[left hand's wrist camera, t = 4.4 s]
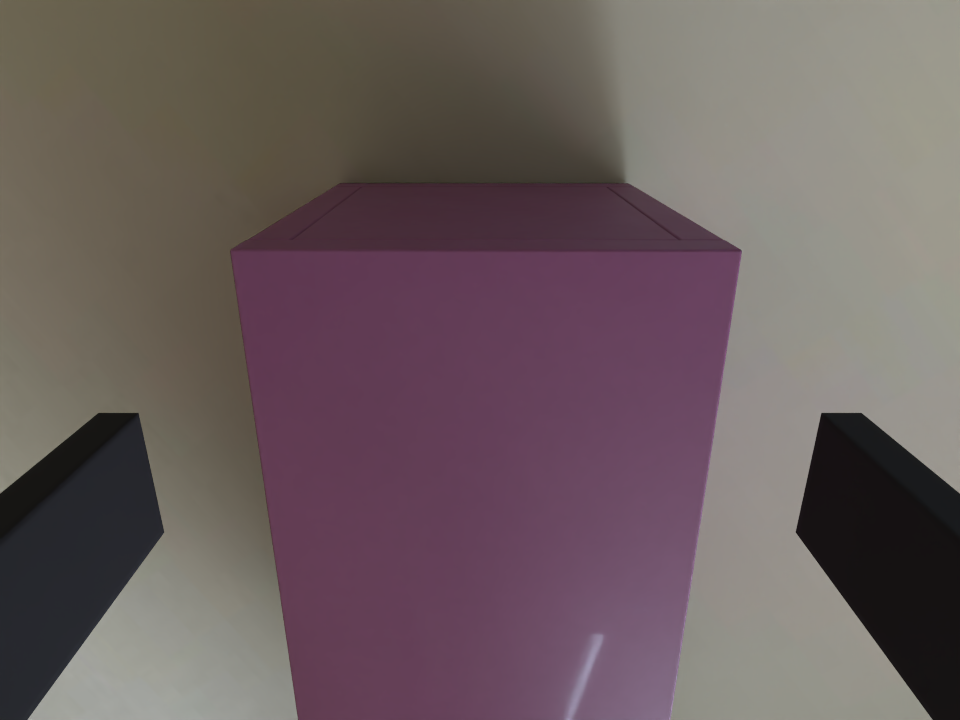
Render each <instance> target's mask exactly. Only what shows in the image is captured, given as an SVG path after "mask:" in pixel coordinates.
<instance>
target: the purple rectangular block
mask: <svg viewBox="0 0 960 720" xmlns="http://www.w3.org/2000/svg"><path fill="white" fill-rule="evenodd" d="M230 253H231V260H232V267H233V274H234V281H235V288H236V294H237V301H238V308H239V315H240V322H241V329H242V336H243V343H244V350H245V356H246V363H247V370H248V377H249V384H250V391H251V398H252V405H253V412H254V419H255V425H256V432H257V439H258V446H259V453H260V460H261V467H262V474H263V481H264V487H265V494H266V501H267V508H268V515H269V522H270V529H271V536H272V543H273V549H274V556H275V563H276V570H277V577H278V584H279V591H280V598H281V605H282V612H283V618H284V625H285V632H286V639H287V646H288V653H289V660H290V667H291V674H292V680H293V687H294V694H295V701H296V708H297V715H298V720H670V719H671V712H672V705H673V699H674V692H675V686H676V679H677V673H678V666H679V660H680V653H681V646H682V640H683V633H684V627H685V620H686V614H687V607H688V601H689V594H690V587H691V581H692V574H693V568H694V561H695V555H696V548H697V541H698V535H699V528H700V522H701V515H702V509H703V502H704V496H705V489H706V482H707V476H708V469H709V463H710V456H711V450H712V443H713V437H714V430H715V423H716V417H717V410H718V404H719V397H720V391H721V384H722V378H723V371H724V364H725V358H726V351H727V345H728V338H729V332H730V325H731V319H732V312H733V305H734V299H735V292H736V286H737V279H738V273H739V266H740V259H741V253H742V251H741V250H740V249H739V248H737V247H735V246H734V245H732V244H730V243H729V242H727V241H725V240H723V239H721V238H719V237H718V236H716V235H714V234H713V233H711V232H709V231H708V230H706V229H704V228H703V227H701V226H699V225H698V224H696V223H694V222H693V221H691V220H689V219H688V218H686V217H684V216H682V215H681V214H679V213H677V212H676V211H674V210H672V209H671V208H669V207H667V206H666V205H664V204H662V203H661V202H659V201H657V200H656V199H654V198H652V197H651V196H649V195H647V194H646V193H644V192H642V191H641V190H639V189H637V188H635V187H634V186H632V185H630V184H628V183H340V184H338V185H336V186H335V187H333V188H331V189H330V190H328V191H326V192H325V193H323V194H322V195H320V196H318V197H317V198H315V199H313V200H312V201H310V202H309V203H307V204H305V205H304V206H302V207H300V208H299V209H297V210H296V211H294V212H292V213H291V214H289V215H287V216H286V217H284V218H283V219H281V220H279V221H278V222H276V223H274V224H273V225H271V226H269V227H268V228H266V229H265V230H263V231H261V232H260V233H258V234H256V235H255V236H253V237H252V238H250V239H248V240H246V241H244V242H242V243H241V244H239V245H237V246H236V247H234V248H232V249H231V251H230Z"/></svg>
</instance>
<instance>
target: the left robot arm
mask: <svg viewBox="0 0 960 720" xmlns="http://www.w3.org/2000/svg"><path fill="white" fill-rule="evenodd" d="M163 533H164V529H163V525H162V520H161V515H160V511H159V506H158V501H157V497H156V492H155V488H154V483H153V478H152V474H151V469H150V464H149V460H148V455H147V450H146V446H145V441H144V437H143V432H142V427H141V423H140V418H139V413H98V414H97V415H96V416H94V417H93V418H92V419H91V420H90V421H88V422H87V423H86V424H85V425H83V426H82V427H81V428H80V429H79V430H77V431H76V432H75V433H74V434H72V435H71V436H70V437H69V438H68V439H66V440H65V441H64V442H63V443H61V444H60V445H59V446H58V447H57V448H55V449H54V450H53V451H52V452H51V453H49V454H48V455H47V456H46V457H44V458H43V459H42V460H41V461H40V462H38V463H37V464H36V465H35V466H33V467H32V468H31V469H30V470H29V471H27V472H26V473H25V474H24V475H22V476H21V477H20V478H19V479H18V480H16V481H15V482H14V483H13V484H12V485H10V486H9V487H8V488H7V489H5V490H4V491H3V492H2V493H1V494H0V720H27V719H28V718H29V717H30V715H31V714H32V713H33V711H34V710H35V708H36V707H37V706H38V704H39V703H40V702H41V700H42V699H43V697H44V696H45V695H46V693H47V692H48V691H49V689H50V688H51V687H52V685H53V684H54V682H55V681H56V680H57V678H58V677H59V676H60V674H61V673H62V671H63V670H64V669H65V667H66V666H67V665H68V663H69V662H70V661H71V659H72V658H73V656H74V655H75V654H76V652H77V651H78V650H79V648H80V647H81V645H82V644H83V643H84V641H85V640H86V639H87V637H88V636H89V635H90V633H91V632H92V630H93V629H94V628H95V626H96V625H97V624H98V622H99V621H100V619H101V618H102V617H103V615H104V614H105V613H106V611H107V610H108V609H109V607H110V606H111V604H112V603H113V602H114V600H115V599H116V598H117V596H118V595H119V593H120V592H121V591H122V589H123V588H124V587H125V585H126V584H127V583H128V581H129V580H130V578H131V577H132V576H133V574H134V573H135V572H136V570H137V569H138V567H139V566H140V565H141V563H142V562H143V561H144V559H145V558H146V557H147V555H148V554H149V552H150V551H151V550H152V548H153V547H154V546H155V544H156V543H157V541H158V540H159V539H160V537H161V536H162V535H163ZM796 533H797V535H798V536H799V537H800V539H801V540H802V541H803V543H804V544H805V546H806V547H807V548H808V550H809V551H810V552H811V554H812V555H813V557H814V558H815V559H816V561H817V562H818V563H819V565H820V566H821V567H822V569H823V570H824V572H825V573H826V574H827V576H828V577H829V578H830V580H831V581H832V583H833V584H834V585H835V587H836V588H837V589H838V591H839V592H840V593H841V595H842V596H843V598H844V599H845V600H846V602H847V603H848V604H849V606H850V607H851V609H852V610H853V611H854V613H855V614H856V615H857V617H858V618H859V619H860V621H861V622H862V624H863V625H864V626H865V628H866V629H867V630H868V632H869V633H870V635H871V636H872V637H873V639H874V640H875V641H876V643H877V644H878V645H879V647H880V648H881V650H882V651H883V652H884V654H885V655H886V656H887V658H888V659H889V661H890V662H891V663H892V665H893V666H894V667H895V669H896V670H897V671H898V673H899V674H900V676H901V677H902V678H903V680H904V681H905V682H906V684H907V685H908V687H909V688H910V689H911V691H912V692H913V693H914V695H915V696H916V697H917V699H918V700H919V702H920V703H921V704H922V706H923V707H924V708H925V710H926V711H927V713H928V714H929V715H930V717H931V718H932V719H933V720H960V494H959V493H958V492H957V491H956V490H955V489H953V488H952V487H951V486H950V485H948V484H947V483H946V482H945V481H944V480H942V479H941V478H940V477H939V476H938V475H936V474H935V473H934V472H933V471H931V470H930V469H929V468H928V467H927V466H925V465H924V464H923V463H922V462H920V461H919V460H918V459H917V458H916V457H914V456H913V455H912V454H911V453H909V452H908V451H907V450H906V449H905V448H903V447H902V446H901V445H900V444H899V443H897V442H896V441H895V440H894V439H892V438H891V437H890V436H889V435H888V434H886V433H885V432H884V431H883V430H881V429H880V428H879V427H878V426H877V425H875V424H874V423H873V422H872V421H870V420H869V419H868V418H867V417H866V416H864V415H863V414H862V413H821V418H820V423H819V427H818V432H817V437H816V441H815V446H814V450H813V455H812V460H811V464H810V469H809V474H808V478H807V483H806V488H805V492H804V497H803V501H802V506H801V511H800V515H799V520H798V525H797V529H796Z"/></svg>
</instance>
